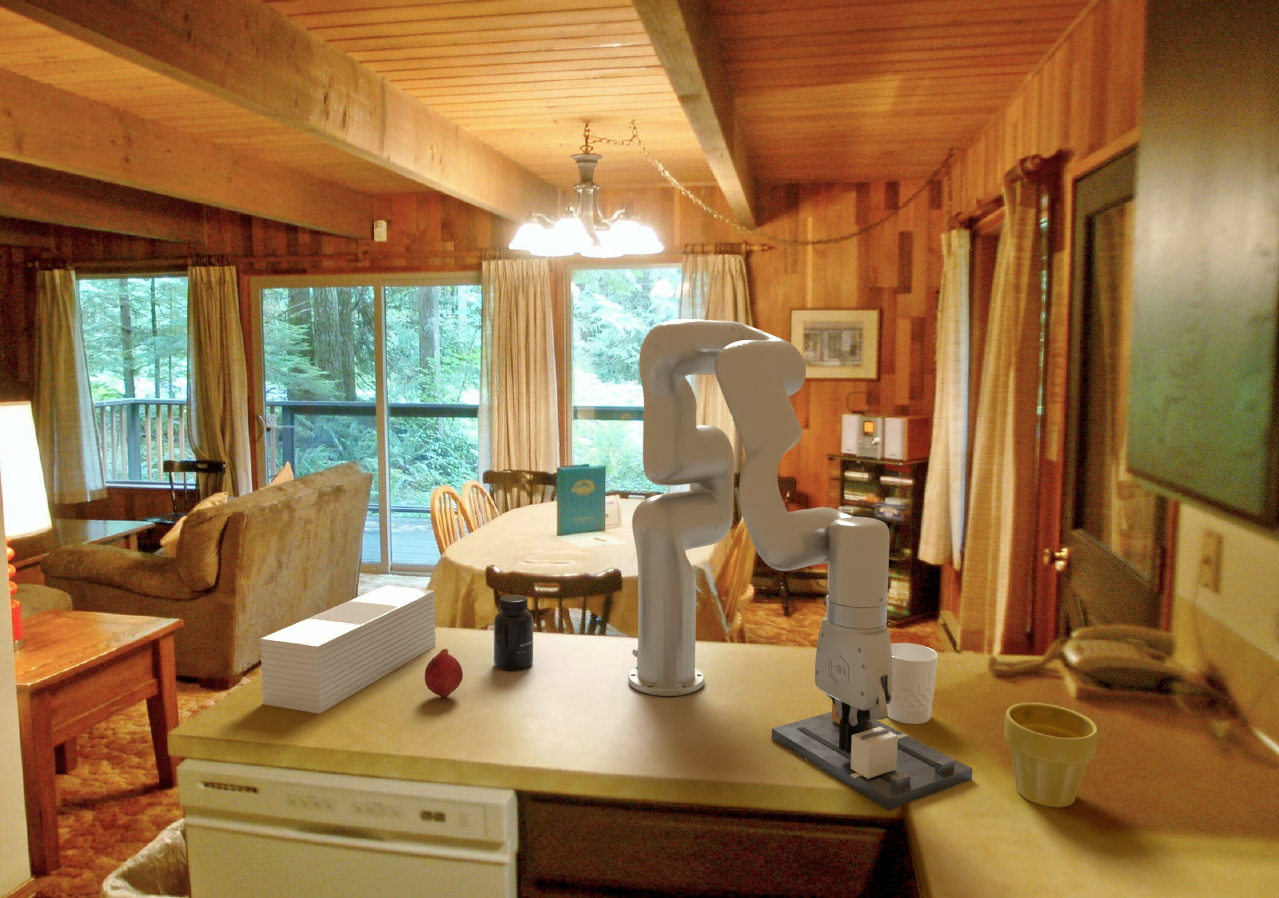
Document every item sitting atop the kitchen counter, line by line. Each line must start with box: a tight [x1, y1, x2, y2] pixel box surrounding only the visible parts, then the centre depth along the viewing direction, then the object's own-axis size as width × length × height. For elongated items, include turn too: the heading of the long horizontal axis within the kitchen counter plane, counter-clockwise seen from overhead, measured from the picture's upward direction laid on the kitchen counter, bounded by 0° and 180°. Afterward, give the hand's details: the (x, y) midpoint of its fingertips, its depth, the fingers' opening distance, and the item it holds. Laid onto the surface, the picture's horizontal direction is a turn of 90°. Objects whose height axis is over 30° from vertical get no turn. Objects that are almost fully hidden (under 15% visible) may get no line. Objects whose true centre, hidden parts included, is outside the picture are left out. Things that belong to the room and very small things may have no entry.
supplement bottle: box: [493, 594, 534, 672], centre depth 148 cm, size 7×7×12 cm
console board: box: [771, 711, 973, 811], centre depth 115 cm, size 22×15×3 cm
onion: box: [424, 647, 464, 699], centre depth 134 cm, size 6×6×8 cm
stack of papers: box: [259, 585, 437, 715], centre depth 144 cm, size 32×11×11 cm, turn 161°
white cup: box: [886, 642, 939, 725], centre depth 128 cm, size 8×8×10 cm
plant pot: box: [1003, 702, 1099, 808], centre depth 105 cm, size 10×10×10 cm
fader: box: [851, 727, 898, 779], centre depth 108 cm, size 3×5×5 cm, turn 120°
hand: (852, 748), depth 111 cm, fingers closed
